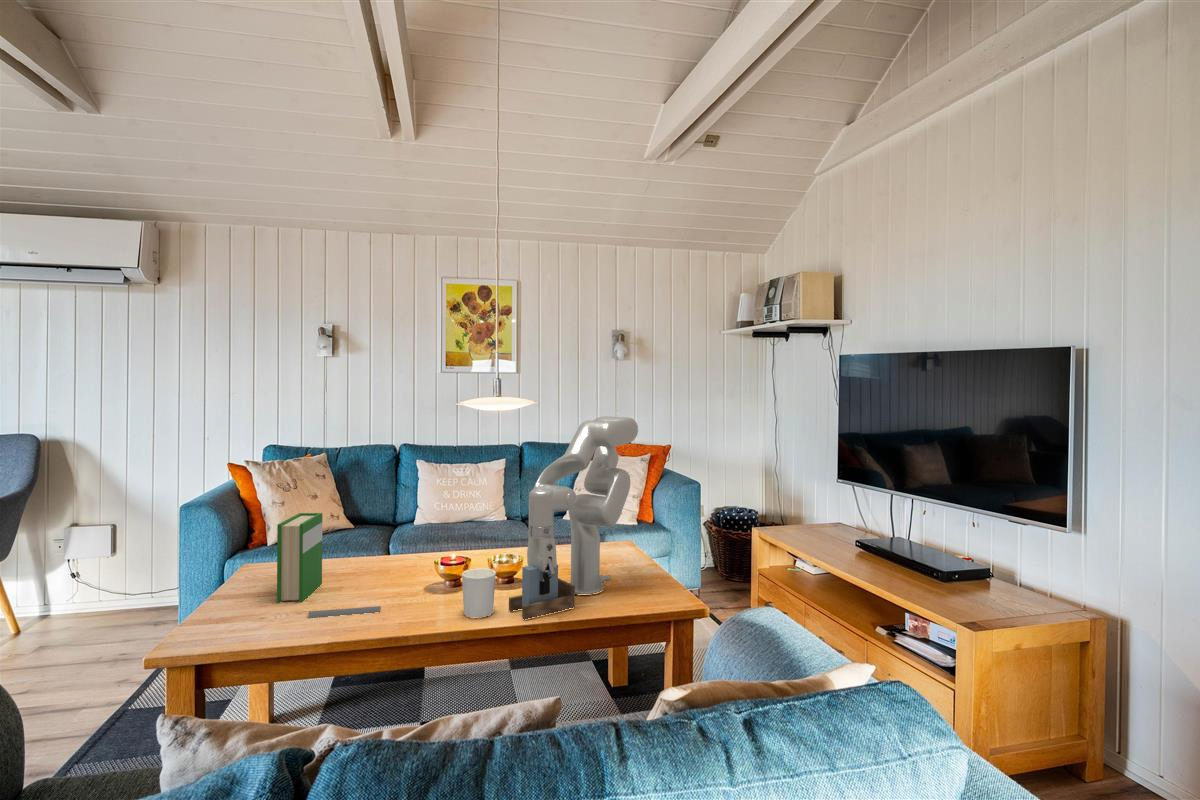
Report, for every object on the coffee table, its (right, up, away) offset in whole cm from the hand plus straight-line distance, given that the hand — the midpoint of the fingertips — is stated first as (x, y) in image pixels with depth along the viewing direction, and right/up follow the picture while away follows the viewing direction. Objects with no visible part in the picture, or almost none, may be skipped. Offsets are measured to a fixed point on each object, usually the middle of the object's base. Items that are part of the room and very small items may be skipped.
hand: (540, 591), depth 186 cm
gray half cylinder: (-57, -6, -4) cm, 57 cm away
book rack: (0, -6, 0) cm, 6 cm away
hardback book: (-78, -5, +12) cm, 79 cm away
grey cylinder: (-18, -6, -3) cm, 19 cm away
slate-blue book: (0, -4, 0) cm, 4 cm away
